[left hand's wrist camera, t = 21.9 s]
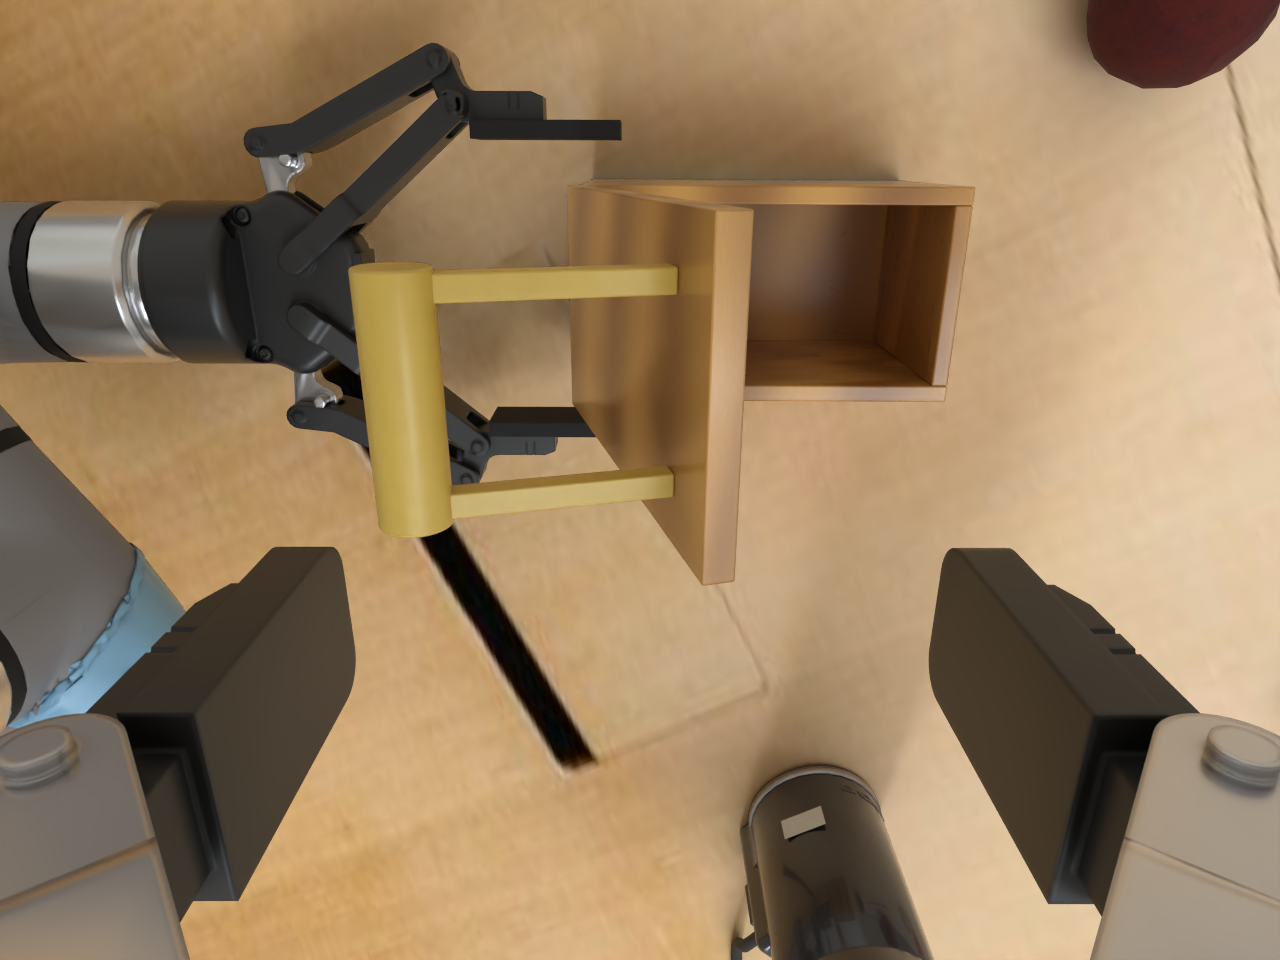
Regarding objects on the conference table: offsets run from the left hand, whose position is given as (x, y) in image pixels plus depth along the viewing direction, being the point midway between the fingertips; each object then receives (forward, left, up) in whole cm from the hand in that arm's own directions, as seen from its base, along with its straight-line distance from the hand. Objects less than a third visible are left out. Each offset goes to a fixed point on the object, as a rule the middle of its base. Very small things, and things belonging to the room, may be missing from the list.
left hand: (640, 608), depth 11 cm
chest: (+4, -4, -37) cm, 37 cm away
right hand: (-1, +1, -30) cm, 30 cm away
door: (0, 0, -18) cm, 18 cm away
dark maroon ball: (+26, -10, -37) cm, 46 cm away
